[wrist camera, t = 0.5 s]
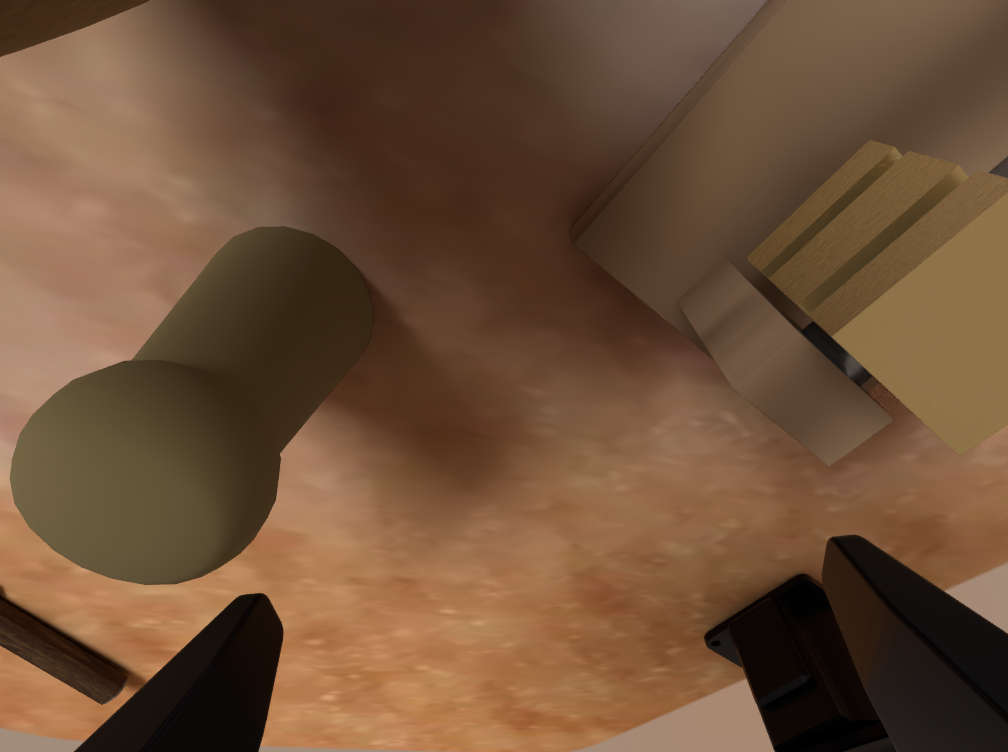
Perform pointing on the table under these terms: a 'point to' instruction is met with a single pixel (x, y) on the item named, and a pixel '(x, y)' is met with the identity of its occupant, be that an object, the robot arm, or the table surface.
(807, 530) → the table surface
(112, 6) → the plant pot
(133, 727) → the robot arm
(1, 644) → the knife
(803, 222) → the nut
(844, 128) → the jig
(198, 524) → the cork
